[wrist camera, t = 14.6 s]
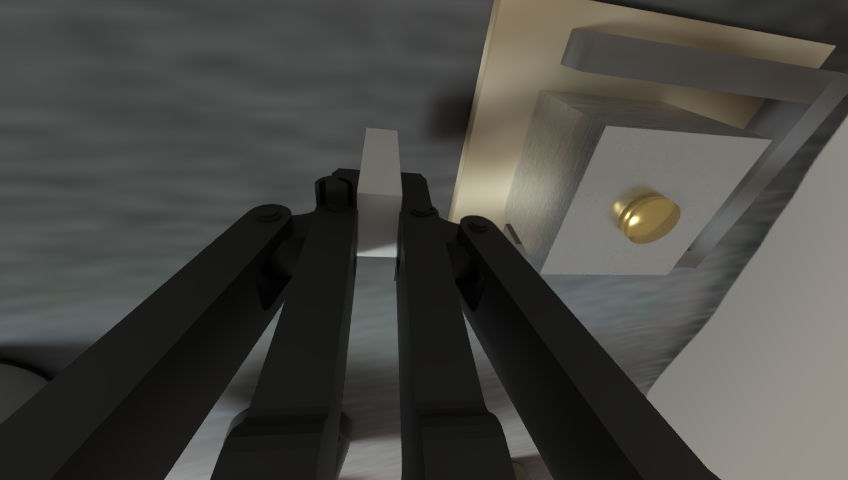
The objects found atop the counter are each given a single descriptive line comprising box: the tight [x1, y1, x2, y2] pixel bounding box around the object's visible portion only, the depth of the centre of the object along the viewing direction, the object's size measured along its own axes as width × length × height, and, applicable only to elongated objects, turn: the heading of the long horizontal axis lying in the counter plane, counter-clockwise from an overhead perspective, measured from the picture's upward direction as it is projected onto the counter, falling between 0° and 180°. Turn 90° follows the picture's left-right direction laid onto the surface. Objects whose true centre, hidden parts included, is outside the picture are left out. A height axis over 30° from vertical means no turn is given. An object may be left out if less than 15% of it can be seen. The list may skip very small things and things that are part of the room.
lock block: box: [503, 90, 772, 275], centre depth 17 cm, size 8×8×7 cm
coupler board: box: [448, 0, 848, 268], centre depth 20 cm, size 16×20×4 cm
